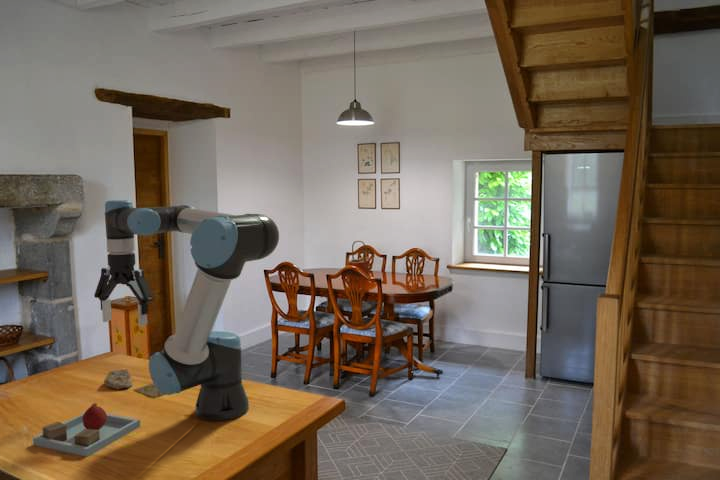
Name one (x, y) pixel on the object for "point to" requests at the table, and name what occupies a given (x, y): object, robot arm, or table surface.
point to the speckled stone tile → (149, 391)
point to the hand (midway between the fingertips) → (125, 323)
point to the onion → (94, 417)
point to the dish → (108, 433)
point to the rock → (118, 379)
